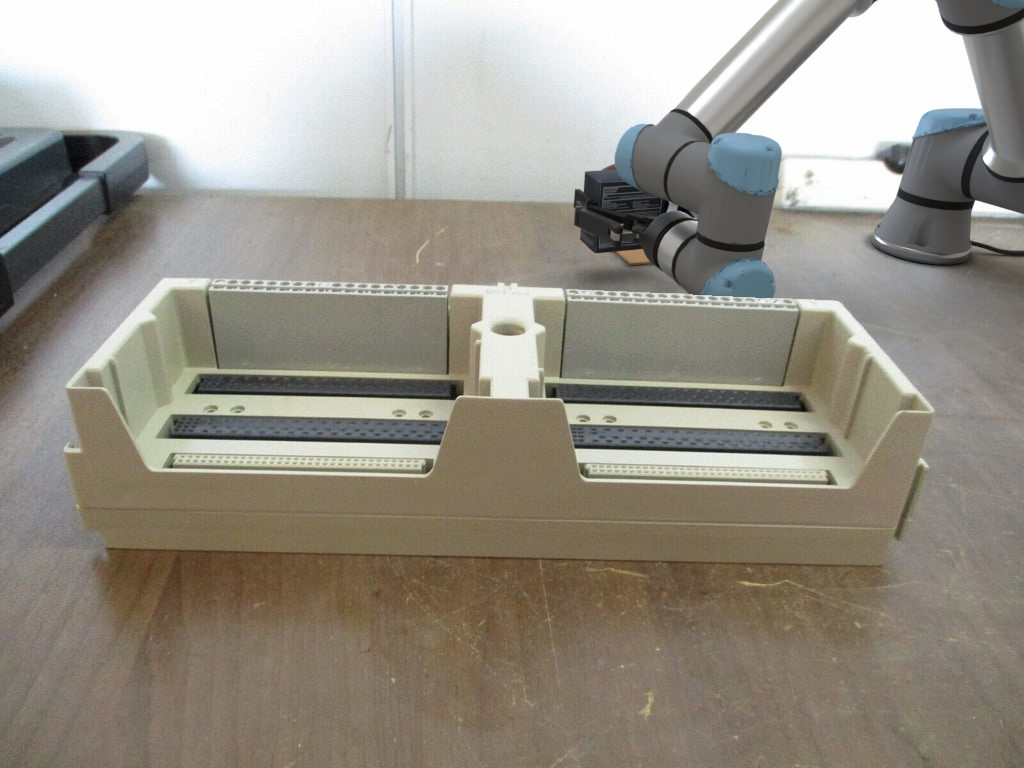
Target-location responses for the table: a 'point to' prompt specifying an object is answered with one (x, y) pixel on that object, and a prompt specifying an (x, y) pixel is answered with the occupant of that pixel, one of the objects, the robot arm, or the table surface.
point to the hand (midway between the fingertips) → (611, 196)
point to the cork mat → (634, 257)
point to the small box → (617, 205)
